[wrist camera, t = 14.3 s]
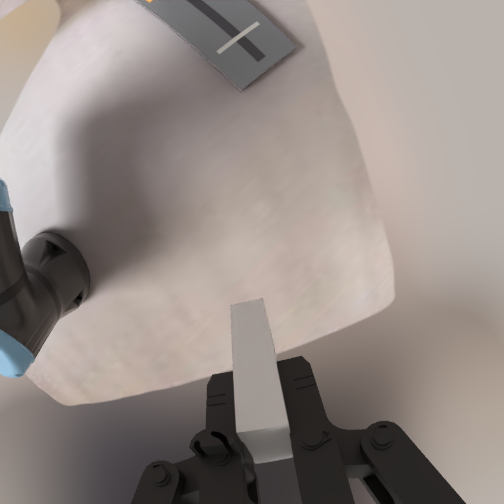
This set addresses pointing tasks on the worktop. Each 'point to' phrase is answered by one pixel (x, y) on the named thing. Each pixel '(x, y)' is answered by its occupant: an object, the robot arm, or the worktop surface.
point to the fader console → (226, 35)
